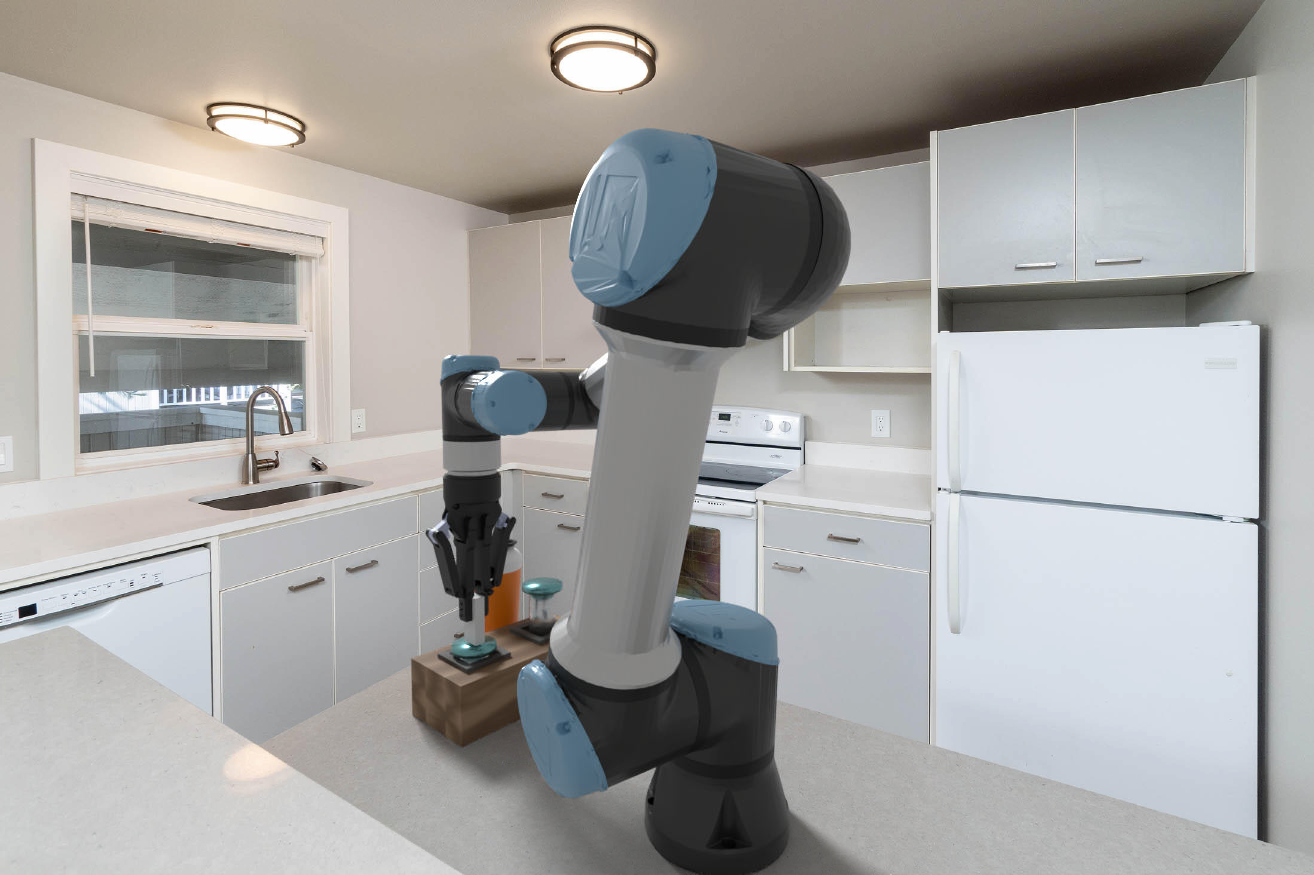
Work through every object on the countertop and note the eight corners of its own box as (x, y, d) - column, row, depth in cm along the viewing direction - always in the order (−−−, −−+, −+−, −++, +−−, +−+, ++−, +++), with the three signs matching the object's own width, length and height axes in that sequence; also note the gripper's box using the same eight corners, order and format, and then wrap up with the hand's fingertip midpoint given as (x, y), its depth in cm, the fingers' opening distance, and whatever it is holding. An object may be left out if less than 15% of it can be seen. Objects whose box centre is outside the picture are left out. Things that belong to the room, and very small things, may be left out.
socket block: (598, 680, 99) (598, 626, 99) (461, 747, 81) (460, 681, 80) (547, 658, 107) (547, 607, 106) (412, 714, 89) (411, 654, 88)
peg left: (505, 704, 90) (505, 643, 89) (468, 721, 85) (467, 657, 84) (480, 690, 94) (480, 631, 93) (443, 706, 89) (442, 644, 88)
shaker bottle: (516, 672, 102) (515, 548, 100) (460, 670, 102) (458, 547, 100) (528, 648, 111) (527, 534, 109) (476, 647, 111) (475, 533, 109)
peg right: (570, 640, 98) (570, 583, 98) (539, 652, 94) (539, 593, 93) (545, 629, 102) (545, 574, 101) (514, 641, 98) (513, 583, 97)
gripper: (496, 464, 94) (497, 621, 96) (412, 473, 84) (416, 648, 86) (528, 469, 89) (529, 634, 91) (443, 479, 79) (447, 665, 81)
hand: (474, 641), depth 89 cm, fingers closed
